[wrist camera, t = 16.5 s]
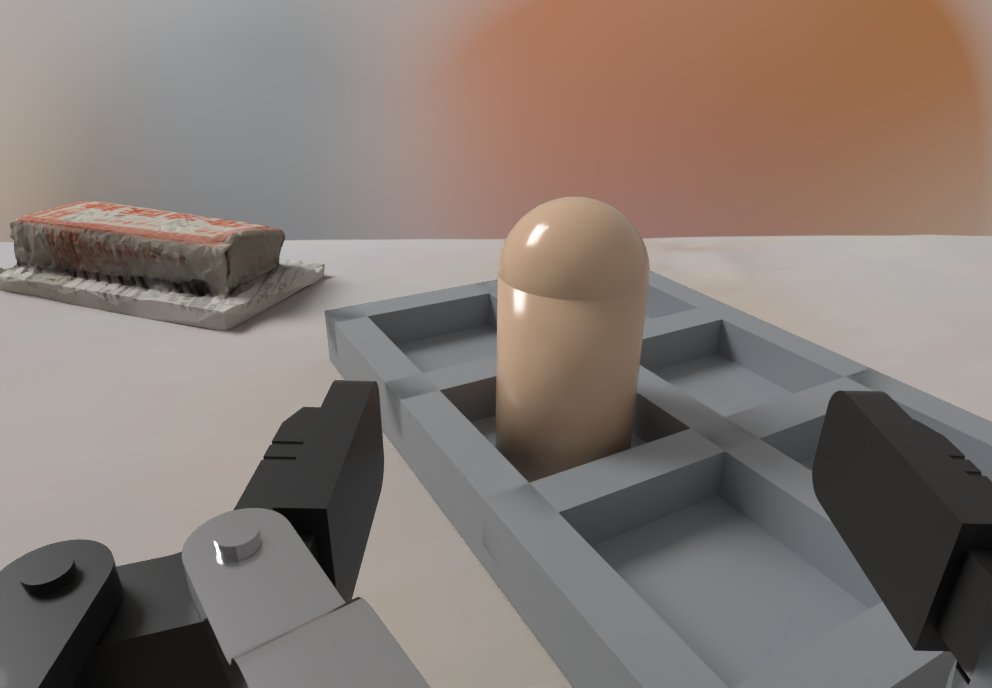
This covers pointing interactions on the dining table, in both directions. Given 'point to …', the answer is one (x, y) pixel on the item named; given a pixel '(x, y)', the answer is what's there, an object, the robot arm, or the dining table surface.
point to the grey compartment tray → (657, 496)
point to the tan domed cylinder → (568, 336)
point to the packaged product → (153, 263)
